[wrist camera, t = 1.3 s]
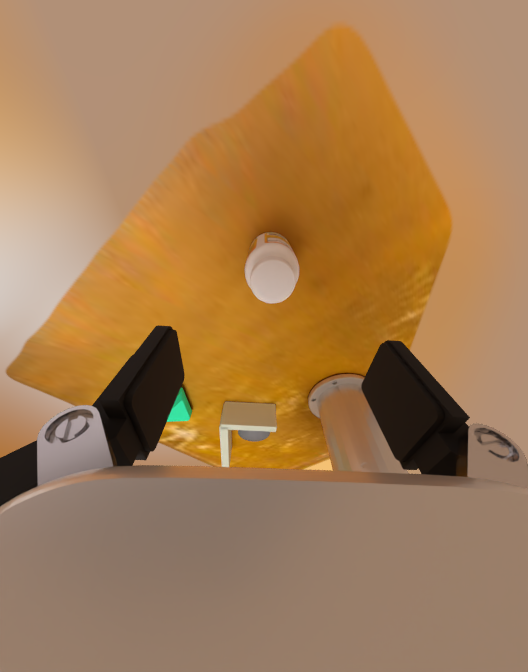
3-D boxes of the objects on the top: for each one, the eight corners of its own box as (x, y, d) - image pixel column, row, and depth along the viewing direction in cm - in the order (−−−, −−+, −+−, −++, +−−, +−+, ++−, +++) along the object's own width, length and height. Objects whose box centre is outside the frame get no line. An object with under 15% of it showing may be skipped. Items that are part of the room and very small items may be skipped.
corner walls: (275, 404, 43) (276, 427, 38) (267, 448, 52) (268, 470, 48) (223, 401, 42) (219, 424, 38) (225, 446, 52) (222, 469, 47)
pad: (271, 422, 46) (271, 424, 46) (268, 440, 50) (268, 441, 50) (238, 421, 46) (238, 422, 46) (238, 439, 50) (238, 440, 49)
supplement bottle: (259, 282, 29) (257, 319, 21) (240, 243, 26) (230, 267, 18) (298, 266, 27) (312, 297, 19) (282, 222, 25) (291, 238, 17)
